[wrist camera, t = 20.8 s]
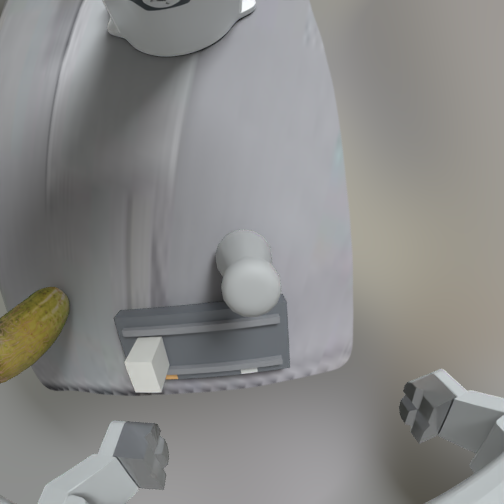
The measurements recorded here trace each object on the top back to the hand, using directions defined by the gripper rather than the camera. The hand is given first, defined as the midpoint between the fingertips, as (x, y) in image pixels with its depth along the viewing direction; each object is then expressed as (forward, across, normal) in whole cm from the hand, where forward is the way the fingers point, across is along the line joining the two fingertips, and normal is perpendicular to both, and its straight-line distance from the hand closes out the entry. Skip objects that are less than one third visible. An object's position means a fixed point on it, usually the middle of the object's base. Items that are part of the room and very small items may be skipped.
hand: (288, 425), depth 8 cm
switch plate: (+25, +6, +10) cm, 28 cm away
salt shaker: (+25, 0, 0) cm, 25 cm away
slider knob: (+22, +12, +10) cm, 27 cm away
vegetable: (+25, +25, +4) cm, 35 cm away
